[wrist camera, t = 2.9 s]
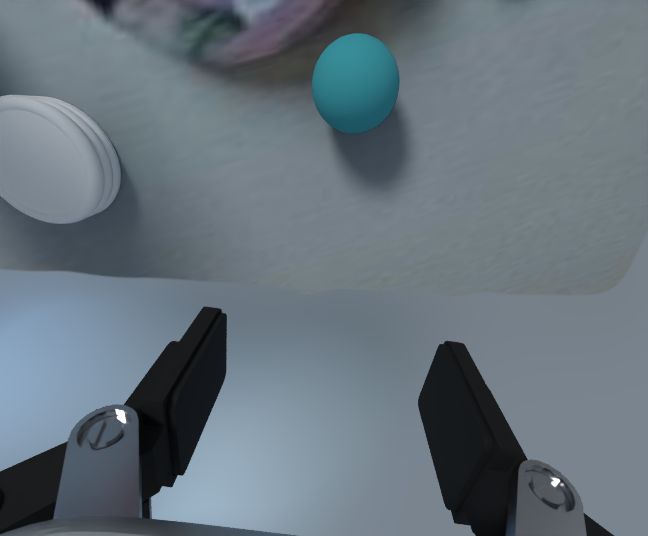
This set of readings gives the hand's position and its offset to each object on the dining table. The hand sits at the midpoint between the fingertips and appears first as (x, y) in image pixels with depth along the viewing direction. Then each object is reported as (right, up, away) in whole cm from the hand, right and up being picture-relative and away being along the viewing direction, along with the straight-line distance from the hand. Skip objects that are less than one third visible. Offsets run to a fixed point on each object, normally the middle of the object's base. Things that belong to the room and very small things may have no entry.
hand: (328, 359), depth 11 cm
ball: (+2, +16, +11) cm, 19 cm away
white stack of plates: (-23, +13, +17) cm, 32 cm away
